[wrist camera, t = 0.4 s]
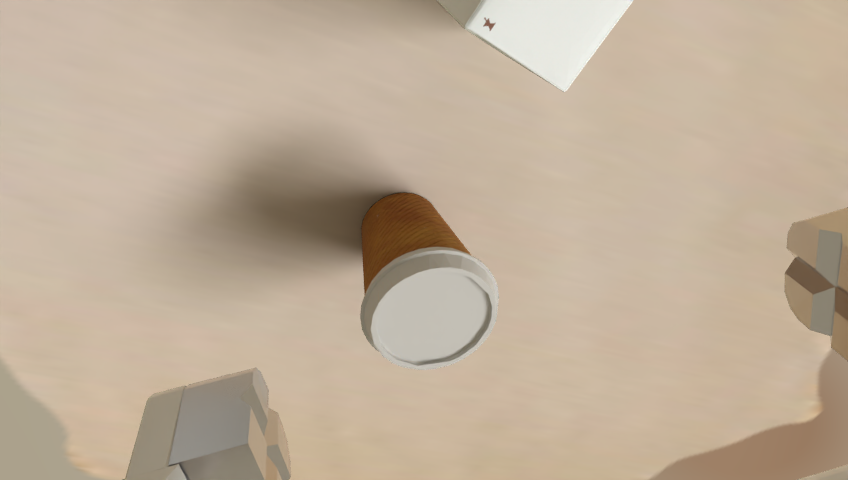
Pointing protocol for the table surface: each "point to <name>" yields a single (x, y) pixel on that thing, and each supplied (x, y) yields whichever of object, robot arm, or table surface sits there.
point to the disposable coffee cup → (422, 286)
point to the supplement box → (541, 31)
